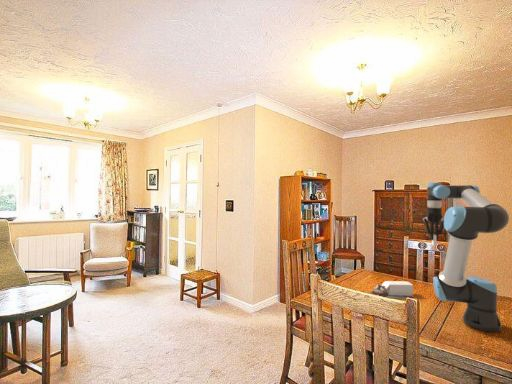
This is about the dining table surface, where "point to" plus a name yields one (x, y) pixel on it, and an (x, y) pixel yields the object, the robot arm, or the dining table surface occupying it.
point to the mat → (397, 296)
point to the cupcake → (380, 291)
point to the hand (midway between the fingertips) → (434, 245)
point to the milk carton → (399, 288)
